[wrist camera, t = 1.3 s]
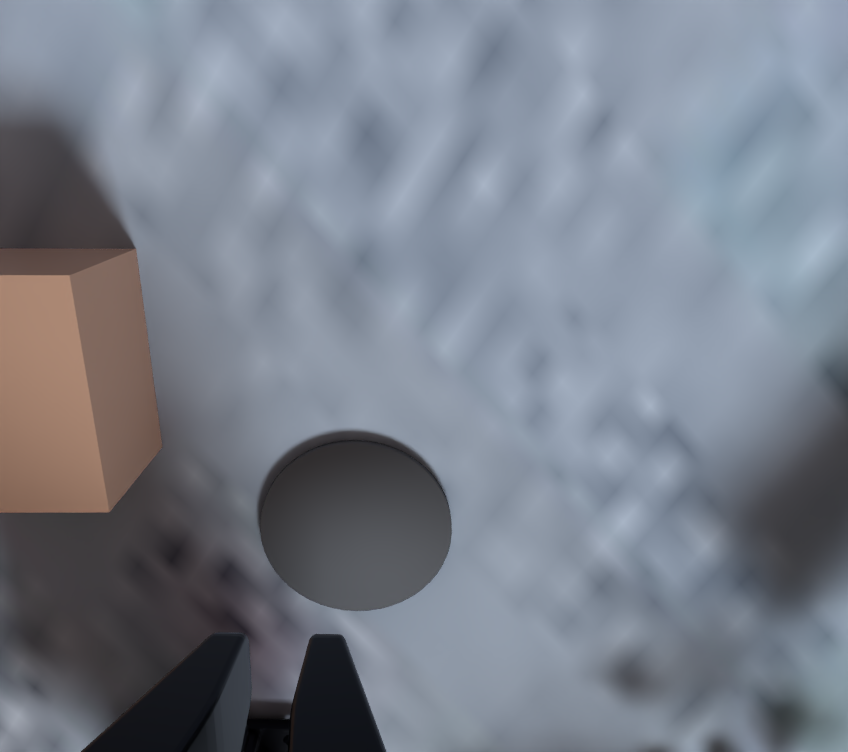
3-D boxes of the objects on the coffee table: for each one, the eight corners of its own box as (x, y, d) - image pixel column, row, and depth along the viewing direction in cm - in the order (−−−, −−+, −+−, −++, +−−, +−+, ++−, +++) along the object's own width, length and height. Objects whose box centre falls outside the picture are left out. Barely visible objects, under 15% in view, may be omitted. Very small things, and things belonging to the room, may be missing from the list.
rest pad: (446, 606, 23) (447, 612, 22) (266, 603, 23) (264, 609, 22) (455, 442, 21) (456, 447, 20) (257, 438, 21) (255, 442, 20)
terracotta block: (164, 444, 21) (109, 512, 17) (-34, 444, 21) (-133, 512, 17) (138, 247, 19) (69, 275, 15) (-81, 246, 19) (-205, 274, 15)
